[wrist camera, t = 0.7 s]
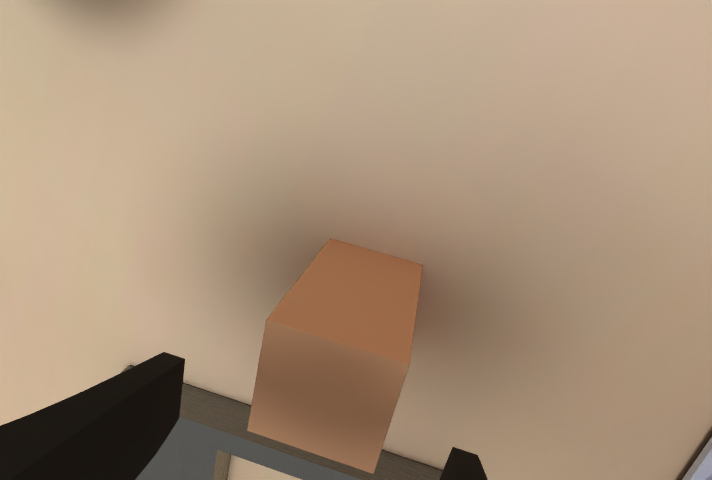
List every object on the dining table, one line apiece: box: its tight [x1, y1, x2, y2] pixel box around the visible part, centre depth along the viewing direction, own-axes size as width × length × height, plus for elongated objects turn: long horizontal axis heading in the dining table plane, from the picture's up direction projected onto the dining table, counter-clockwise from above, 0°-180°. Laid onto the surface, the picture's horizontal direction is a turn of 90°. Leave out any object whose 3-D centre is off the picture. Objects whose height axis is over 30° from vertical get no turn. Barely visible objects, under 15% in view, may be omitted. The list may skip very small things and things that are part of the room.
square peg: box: [247, 239, 423, 474], centre depth 15 cm, size 4×4×7 cm
